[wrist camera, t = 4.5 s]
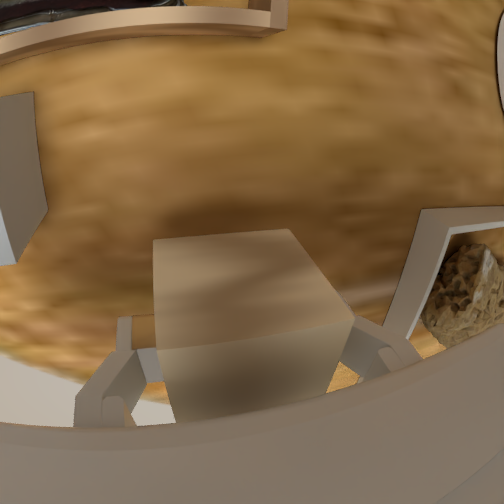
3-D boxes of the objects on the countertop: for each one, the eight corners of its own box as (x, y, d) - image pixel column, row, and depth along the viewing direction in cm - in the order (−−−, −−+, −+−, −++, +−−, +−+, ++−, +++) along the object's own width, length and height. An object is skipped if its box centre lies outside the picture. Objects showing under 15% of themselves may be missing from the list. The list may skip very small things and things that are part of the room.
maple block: (288, 228, 12) (355, 318, 8) (275, 324, 15) (316, 412, 10) (153, 239, 11) (156, 350, 7) (167, 338, 13) (181, 439, 9)
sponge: (387, 305, 28) (459, 360, 35) (442, 342, 20) (496, 387, 27) (451, 193, 27) (505, 281, 34) (512, 206, 19) (545, 299, 26)
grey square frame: (530, 205, 28) (546, 216, 25) (467, 344, 40) (478, 356, 38) (421, 209, 21) (449, 227, 18) (348, 400, 33) (359, 419, 31)
